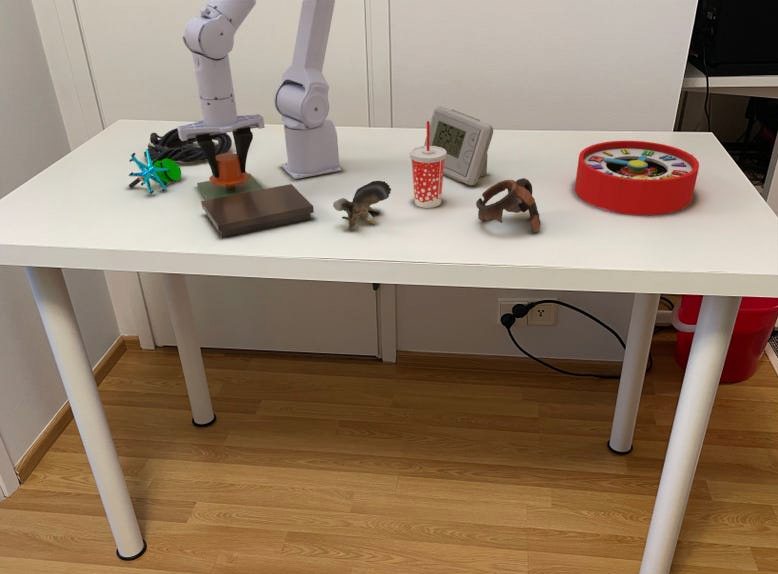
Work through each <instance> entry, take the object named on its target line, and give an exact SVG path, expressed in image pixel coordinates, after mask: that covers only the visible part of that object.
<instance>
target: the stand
mask: <svg viewBox="0 0 778 574" xmlns="http://www.w3.org/2000/svg"><path fill="white" fill-rule="evenodd" d="M200 203H201V204H200V205H201V207H202V210H203V211H204V212H205V214H206V216H207V217H208V218H209V220H210V222H211V223H212V224H213V227H215V229H216V230H217V232H218V233H219V235H220V236H221V238H223V239H224V238H227V237H232V236H237V235H241V234H247V233H252V232H256V231H262V230H266V229H270V228H276V227H280V226H285V225H291V224H295V223H300V222H304V221H309V220H311V214H314V213H315V210H314V205H313V204H312V203H311V202H310V201H309V200H308V199H307V198H306V197H305V196H304V194H302V193H301V192H300V191H299V190H298V189H297V188H296V187H295V186H294V185H293V184H292V183H289V184H285V185H278V186H273V187H267V188H263V189H262V190H257V191H252V192H246V193H241V194H236V195H231V196H225V197H220V198H215V199H209V200H206V199H204V200H201V201H200Z"/></svg>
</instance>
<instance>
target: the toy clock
mask: <svg viewBox="0 0 778 574" xmlns="http://www.w3.org/2000/svg"><path fill="white" fill-rule="evenodd" d="M577 160H578V161H577V168H576V176H575V183H574V191H575V194H576V195H577V197H578V198H580V199H581V201H583V202H585V203H587V204H589V205H590V206H593V207H595V208H598V209H601V210H604V211H608V212H612V213H617V214H623V215H624V214H625V215H631V216H632V215H633V216H634V215H635V216H659V215H664V214H665V215H666V214H671V213H675V212H678V211H681V210H683V209H685V208H687V207H688V206H689V205H690V204H691V203H692V200H693V196H694V193H695V188H696V183H697V178H698V175H699V170H700V162H699V160H698V158H696V157H695V156H694V155H693V154H691V153H689V152H687V151H685V150H683V149H682V148H681V149H680V148H678V147H675V146H671V145H667V144H664V143H658V142H653V141H646V140H645V141H644V140H612V141H604V142H603V141H602V142H598V143H595V144H591V145H589V146H586V147H585V148H583V149H582V150H581V151H580V152H579V154H578V159H577Z"/></svg>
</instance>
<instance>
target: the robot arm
mask: <svg viewBox="0 0 778 574" xmlns="http://www.w3.org/2000/svg"><path fill="white" fill-rule="evenodd" d="M335 3H336V0H302V2H301V8H300V14H299V20H298V25H297V30H296V31H297V32H296V38H295V43H294V49H293V54H292V55H293V56H292V61H291V64H290V66H289V67H288V68H286V69H285V71H284V72H283V73H282V75H281V81H280V83H279V84H278V87H277V88H276V90H275V92H274V95H273V104H274V108H275V110H276V112H277V113H278V114H279V115H281V117H282V118H281V120H282V122H283V130H284V139H285V140H284V141H285V148H286V159H287V162H285V163H282V164H281V168H282V169H283V170H284V171H286V173H287V174H288V175H289V176H290V177H292V178H293V179H294V180H299V179H304V178H308V177H314V176H319V175H326V174H331V173H336V172H340V171H342V168H341V167H340V155H339V154H340V153H339V141H338V138H339V137H338V133H337V129H336V125H335V124H334V122H333V121H332V120H331V119H327V117H328V115H329V112H330V102H329V90H330V86H329V84H328V82H327V80H326V78H325V76H324V74H323V68H324V63H325V57H326V52H327V47H328V41H329V37H330V30H331V26H332V19H333V14H334V9H335ZM256 4H257V0H209V1H208V2H207V4H206V5H205V6H204V5H203V6H202V7H201V8H200V10H199V12H200V15H197V16H194V17H192V18H191V19H189V21H188V22H187V23H186V26H185V29H184V30H185V31H184V35H183V36H182V41H183V44H184V46H185V47H186V48H187V49H188V50H189V51H190V52H191V55H192V60H193V61H192V62H193V66H194V74H195V79H196V84H197V85H196V86H197V90H198V97H199V102H200V109H201V115H202V120H199V121H196V122H191V123H188V124H185V125H179V126H177V127H176V128H178V134H179V138H180V139H181V141H185V140H188V139H190V138H195V140H196V141H197V142H196V143H197V144H198V147H200V148H201V149H202V151H203V153H204V155H205V156H206V158H207V163H208V165H209V168H210V170H211V174H212V175H213V176H214V177H215V178H218V177H219V171H218V167H217V163H216V156H215V145H216V144H215V142H214V140H212V137H210V135H215V134H221V133H227V134H229V133H232V136H233V140H234V144H235V145H234V146H235V152H236V153H235V154H237V155H238V156H239V159H240V164H241V172H242V173H245V172H246V168H247V167H246V166H247V159H248V155H249V154H248V153H249V150H250V147H251V144H252V141H253V138H254V133H253V132H252V129H259V130H261V129H265V127H266V126H265V120H264V116H263V115H262V114H260V113H259V114H258V113H257V114H248V115H244V114H243V115H238V114H237V113H238V111H237V104H236V97H235V92H234V84H233V78H232V70H231V64H230V57H229V53H231V52H232V51H233V48H234V44H235V34H236V33H237V31H238V30H239V27H241V25H242V24H243V22H244V21H245V20H246V18H247V17H248V15H249V14H250V13H251V12H252V10H253V8H254V7H255V6H256Z"/></svg>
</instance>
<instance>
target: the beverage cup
mask: <svg viewBox="0 0 778 574" xmlns="http://www.w3.org/2000/svg"><path fill="white" fill-rule="evenodd" d="M430 123H431V120H427V121H426V137H427V146H424V145H421V146H416V147H414V148H411V149H410V151H409V158H410V160H411V172H412V173H411V174H412V187H413V199H414V204H415V206H417V207H418V208H419V207H420V208H425V209H429V208H430V209H432V208H436V207H439V206H440V205H441V204H442V199H443V198H442V195H443V184H444V174H443V172H444V159H445V158H446V150H445V149H443V148H441V147H437V146H430Z"/></svg>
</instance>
